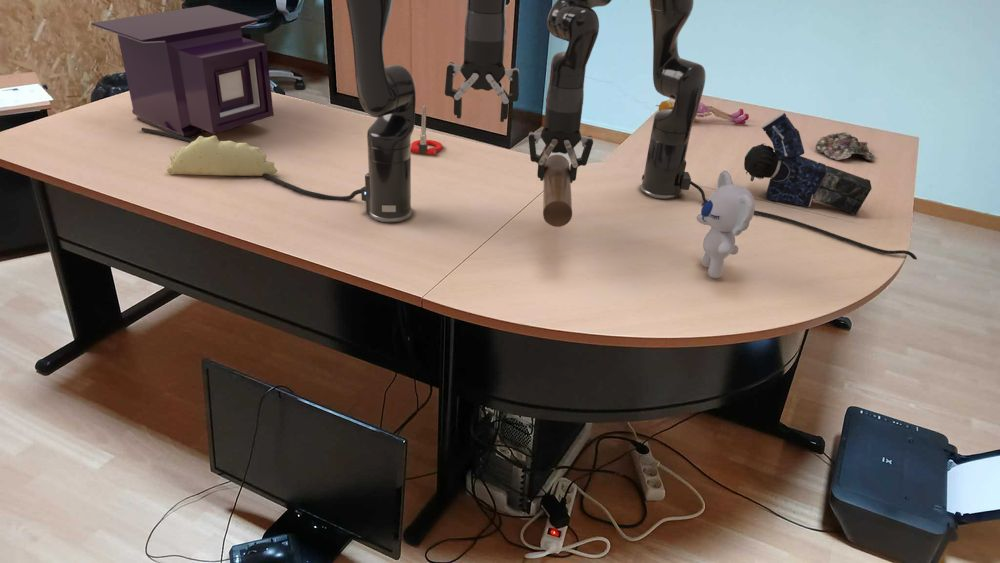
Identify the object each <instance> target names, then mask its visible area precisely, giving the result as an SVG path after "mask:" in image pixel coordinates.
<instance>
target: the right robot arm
mask: <svg viewBox="0 0 1000 563" xmlns="http://www.w3.org/2000/svg"><path fill="white" fill-rule="evenodd" d="M612 1H613V0H556V1H555V2H554V4H553V5H552V6H551V8H550V10H549V13H548V15H547V20H546V24H547V29H548V32H549V33H550V34H551V35H552V36H554V37H555V38H557V39H560V40H562V41H565V42H568V44H567V48H566V50H565V51H559V52H557V53H555V54H554V55H553V56H552V58H551V61H550V62H551V63H550V72H549V82H548V87H547V92H546V98H545V112H544V122H543V128H542V130H541V131H540V132H534V131H533V130H531V131H529V132H528V146H529V147H528V149H529V155H530V156H529V159H530V162H532V163H536V164H537V172H536V174H537V176H536V177H537V178H538V179H539V181H541V182H544V169H545V161H546V160H547V158H549V157H550V156H551V154H559V153H561V154H564V155H567V156H568V158H569V160H570V164H569V165H570V182H571V184H573V182H575V181H576V180H577V174H578V168H579V167H581V166H584V167H585V166H587V164H588V161H589V158H590V155H591V151H592V147H593V144H594V139H593V136H592V135H588V136H585V135H582V134H581V123H582V115H583V106H584V99H585V98H584V97H585V93H584V92H585V90H584V89H585V78H586V70H587V64H588V62H589V59H590V58H591V55H592V52H593V49H594V47H595V44H596V42H597V39H598V36H599V32H600V19H599V16H598V14H597V12H596V11H595V10H594V9H593V8H597V7H606V6H607V5H609V4H610V3H611V2H612ZM694 2H695V1H694V0H649V8H650V15H651V27H652V44H653V46H652V47H653V49H652V52H653V53H652V82H653V87H654V90H655V91H656V92H657V93H658V94H659V95H661V96H663V97H666V98H669V99H670V100H674V106H673V109H667V110H661V111H659V110H658V111H657V112H656V113H655V114H654V116H653V122H652V128H651V133H650V138H649V144H648V148H647V156H646V160H645V161H646V162H645V165H644V172H643V175H642V176H641V181H642V183H641V186H640V190H641V192H642V193H643V194H645V195H646V196H649V197H651V198H655V199H660V200H661V199H662V200H669V199H670V200H671V199H674V198H678V199H679V198H680V196H681V192H682V191H690V187H691V186H692V187H694V188H696V189H697V190H698V191H699V192H700V194H701V199H702V201H703V203H704V202H705V201H708V199H706V195H705V192H704V190H703V189H702V188H701V186H699V185H698V184H697V183H695V182H694V181H692V178H691V175H690V173H689V171H686V167H687V160H686V156H687V151H688V146H689V141H690V136H691V132H692V128H693V124H694V123H695V121H696V120H695V119H696V117H697V116H696V115H697V112H698V108H699V104H700V103H701V100H702V96H703V94H704V88H705V85H706V84H705V83H706V78H707V76H706V70H705V68H704V66H703V65H702V64H701V63H698V62H695V61H692V60H688V59H685V58H681V57H680V54H679V46H678V42H679V41H678V40H679V35H680V34H681V31H682V30H683V28H684V26H685V25H686V23H687V22H688V20H689V18H690V16H691V14H692V12H693V10H694V4H695V3H694ZM694 120H695V121H694ZM540 139H541V140H542V142H543V143H544V144H545V145H544V147H543V148H542V151H541V153H540V154H537V147H536V146H537V145H536V144H538V143H539V140H540ZM580 142H581V145H582V147H583V150H582V152H581V156H580V157H577V155H576V150H575V147H577V145H578V144H579V143H580ZM755 214H756V215H761V216H764V217H765V216H766V217H769V218H773V219H777V220H781V221H785V222H788V223H791V224H794V225H798V226H801V227H803V228H807V229H810V230H812V231H816V232H817V233H818V232H819V233H822V234H824V235H827V236H830V237H832V238H835V239H838V240H841V241H843V242H847V243H850V244H851V245H852V244H853V245H856V246H859V247H861V248H864V249H867V250H870V251H873V252H876V253H881V254H887V255H901V254H902V255H908V256H910V258H911V259H913V260H916V261H917V260H918V258H917V256H916V255H915V254H914V253H913V252H911V251H909V250H904V249H903V250H901V249H900V250H899V249H897V250H886V249H881V248H878V247H874V246H871V245H869V244H868V245H867V244H865V243H862V242H859V241H856V240H853V239H850V238H848V237H845V236H842V235H839V234H836V233H833V232H831V231H828V230H825V229H822V228H819V227H816V226H813V225H811V224H807V223H805V222H801V221H797V220H794V219H791V218H788V217H784V216H780V215H777V214H773V213H768V212H765V211H760V210H756V209H755V210H754V215H755Z"/></svg>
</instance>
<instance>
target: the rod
mask: <svg viewBox="0 0 1000 563" xmlns="http://www.w3.org/2000/svg"><path fill="white" fill-rule="evenodd" d="M570 165H571V164H570V162H569V160H568V158H567V157H566V156H563V155H561V154H552V155H549V157H548V158H547V160H546V161H545V169H544V179H543V194H542V196H543V197H542V198H543V199H542V210H543V211H542V217H543V220H544V221H545V223H546V224H548V225H549V226H551V227H554V228H561V227H563V226H566V225H567V224H569V222H570V221H571V220H572V217H573V203H572V202H573V201H572V200H573V199H572V183H571V182H570Z"/></svg>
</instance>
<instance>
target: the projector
mask: <svg viewBox="0 0 1000 563" xmlns="http://www.w3.org/2000/svg"><path fill="white" fill-rule="evenodd" d="M259 22H260V19H259V18H255V17H253V16H249V15H246V14H242V13H239V12H234V11H230V10H228V9H224V8H220V7H217V6H213V5H210V4H207V5H200V6H194V7H186V8H181V9H175V10H167V11H161V12H154V13H153V12H152V13H147V14H141V15H134V16H128V17H122V18H114V19H107V20H101V21H95V22H91V26H93V27H95V28H98V29H101V30H104V31H107V32H109V33H113V34H116V35H117V40H118V43H119V49H120V53H121V59H122V63H123V67H124V72H125V78H126V82H127V87H128V91H129V96H130V101H131V105H132V110H131V111H132V112H131V113H132V114H133V115H134V116H135V117H136V119H137V120H139V121H142V122H144V123H146V124H149V125H151V126H154V127H156V128H158V129H161V130H163V131H164V132H167V133H172V134H176V135H180V136H184V137H187V138H190V139H192V138H195V137H199V136H202V135H203V131H206V132H208V133H210V134H212V135H214V134H217V133H221V132H224V131H228V130H231V129H235V128H239V127H241V126H244V125H248V124H251V123H255V122H257V121H262V120H265V119H268V118H272V117H274V116H275V113H274V106H273V105H274V104H273V96H272V95H273V94H272V88H271V77H270V67H269V66H270V65H269V57H268V48H267V44H265V43H262V42H259V41H257V40H253V39H249V38H246V37H243V32H242V29H243V28H245V27H247V26H251V25H253V24H257V23H259Z"/></svg>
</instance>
